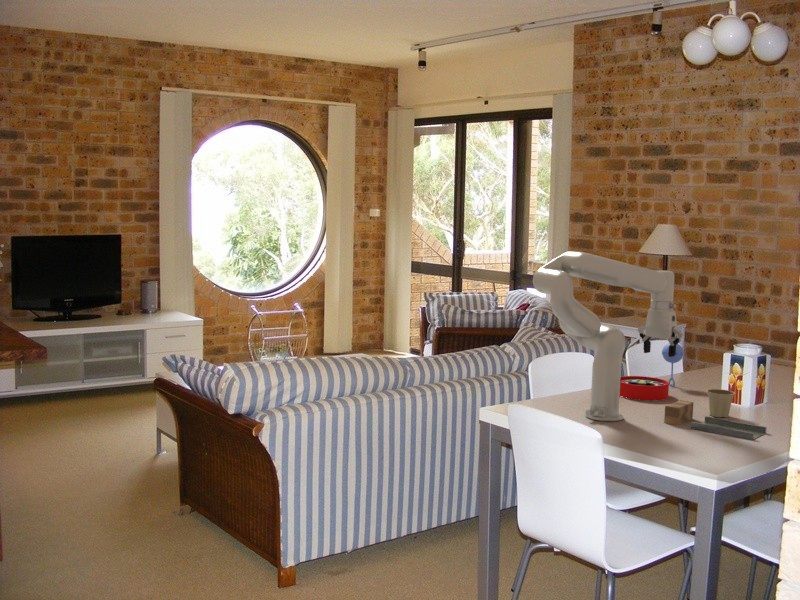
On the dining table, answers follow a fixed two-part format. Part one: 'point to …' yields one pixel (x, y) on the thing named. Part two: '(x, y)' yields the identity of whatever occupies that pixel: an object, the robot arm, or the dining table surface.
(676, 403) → the walnut block
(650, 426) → the dining table surface
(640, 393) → the toy clock
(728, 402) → the flower pot
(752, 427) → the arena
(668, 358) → the baby rattle
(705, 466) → the dining table surface
